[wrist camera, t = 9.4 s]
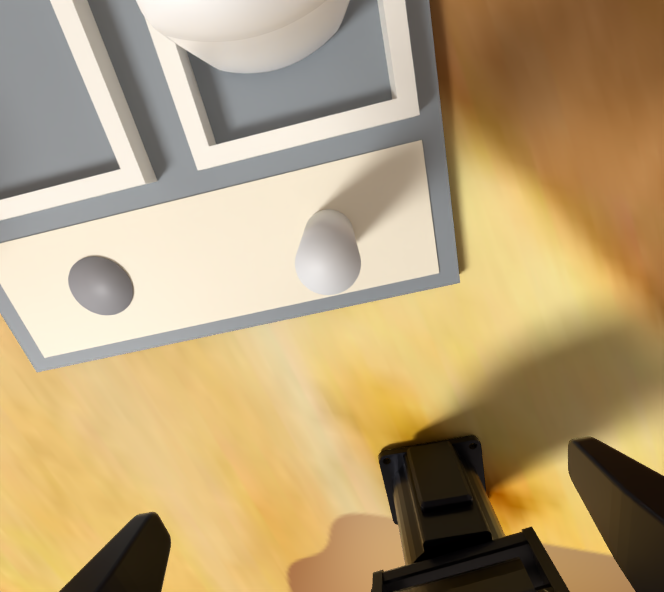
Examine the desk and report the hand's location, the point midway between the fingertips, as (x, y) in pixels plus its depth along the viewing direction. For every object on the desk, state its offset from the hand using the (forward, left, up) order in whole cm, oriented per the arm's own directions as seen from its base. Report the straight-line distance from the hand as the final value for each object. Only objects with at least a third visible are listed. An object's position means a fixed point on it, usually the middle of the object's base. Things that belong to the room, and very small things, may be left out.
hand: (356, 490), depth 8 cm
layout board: (+8, +6, -13) cm, 16 cm away
